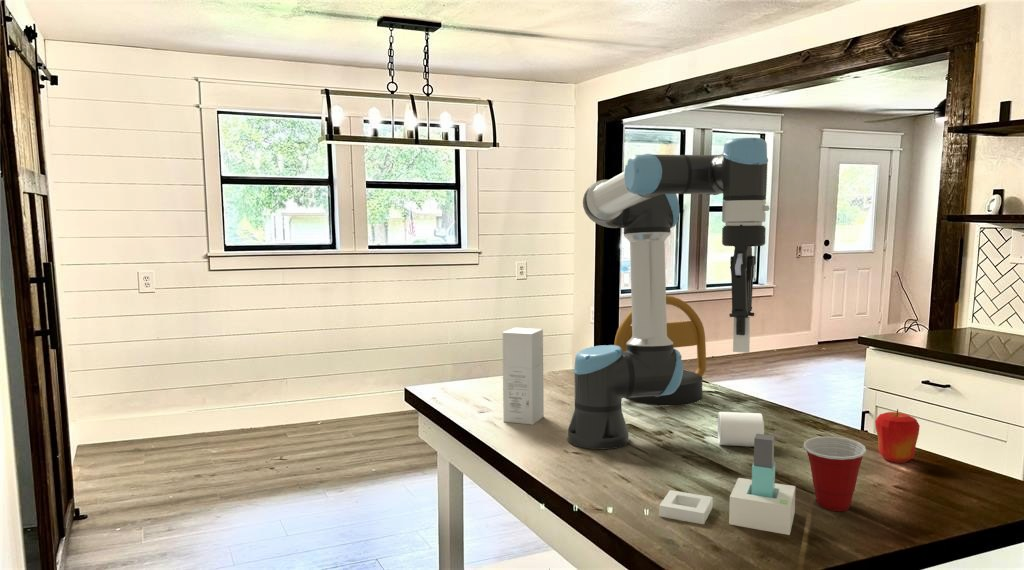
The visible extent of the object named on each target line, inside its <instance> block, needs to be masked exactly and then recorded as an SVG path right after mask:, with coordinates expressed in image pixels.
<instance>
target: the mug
mask: <svg viewBox="0 0 1024 570" xmlns="http://www.w3.org/2000/svg"><path fill="white" fill-rule="evenodd" d="M756 434H764V435H765V423H764V417H763V414H762V413H760V412H759V413H758V412H756V413H755V412H737V411H735V412H734V411H718V413H717V441H718V445H720V446H732V447H733V446H734V447H753V448H754V438H755V436H756Z"/></svg>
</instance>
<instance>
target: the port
mask: <svg viewBox="0 0 1024 570" xmlns="http://www.w3.org/2000/svg"><path fill="white" fill-rule="evenodd" d="M795 511H796V485H792V484H791V485H790V484H783V483H776V482H775V493H774V498H769V497H763V496H756V495H752V478H751V479H749V478H742V477H738V478H737V480H736V483H735V485H734V486H733V489H732V491H731V493H730V495H729V511H728V512H729V514H728V518H729V520H728V525H732V526H738V527H742V528H747V529H753V530H754V529H755V530H759V531H765V532H770V533H771V532H772V533H776V534H780V535H781V534H782V535H787V536H790V535H791V531H792V526H793V522H794V518H795V513H796V512H795Z"/></svg>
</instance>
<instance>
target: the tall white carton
mask: <svg viewBox="0 0 1024 570" xmlns="http://www.w3.org/2000/svg"><path fill="white" fill-rule="evenodd" d="M544 396H545V395H544V330H543V328H528V327H527V328H525V327H513V328H510V329H508V330H504V331H502V401H503V403H502V407H503V411H502V412H503V415H502V417H503V422H504V423H513V424H523V425H532V426H533V425H535V424H536V423H537V422H538V421H540V420H541V419H543V418H544V416H545V413H544V411H545V410H544V409H545V408H544V405H545V404H544V403H545V402H544V398H545V397H544Z"/></svg>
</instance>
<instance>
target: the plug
mask: <svg viewBox="0 0 1024 570" xmlns="http://www.w3.org/2000/svg"><path fill="white" fill-rule="evenodd" d="M774 457H775V435H773V434H765V433H764V434H756V436H755V438H754V447H753V463H752V465H751V480H752V495H756V496H763V497H769V498H774V493H775V483H776V462H774V461H775V459H774Z"/></svg>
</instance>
